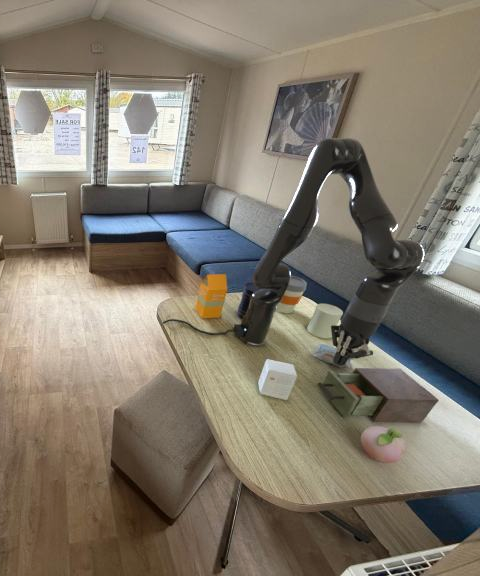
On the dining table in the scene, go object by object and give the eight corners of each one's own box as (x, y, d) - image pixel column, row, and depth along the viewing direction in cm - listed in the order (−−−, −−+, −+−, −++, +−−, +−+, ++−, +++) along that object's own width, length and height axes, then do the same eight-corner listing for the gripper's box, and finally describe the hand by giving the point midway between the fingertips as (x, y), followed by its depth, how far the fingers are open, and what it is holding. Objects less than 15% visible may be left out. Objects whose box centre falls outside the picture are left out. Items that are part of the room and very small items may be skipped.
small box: (283, 388, 102) (294, 364, 97) (287, 401, 98) (298, 376, 93) (257, 382, 104) (266, 358, 100) (259, 394, 100) (268, 369, 95)
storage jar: (234, 309, 146) (241, 281, 139) (255, 311, 145) (264, 283, 138) (239, 321, 137) (248, 292, 130) (262, 323, 136) (272, 294, 129)
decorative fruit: (362, 435, 87) (378, 411, 82) (398, 459, 81) (418, 434, 76) (347, 452, 83) (363, 427, 78) (385, 478, 77) (405, 453, 72)
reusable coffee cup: (295, 305, 151) (305, 277, 144) (298, 317, 141) (309, 289, 134) (266, 299, 156) (275, 272, 148) (267, 311, 145) (277, 283, 138)
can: (336, 333, 131) (347, 310, 125) (326, 341, 126) (338, 316, 120) (312, 323, 137) (322, 300, 132) (302, 329, 133) (312, 306, 127)
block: (344, 405, 94) (350, 395, 92) (334, 394, 98) (340, 384, 96) (358, 406, 94) (365, 395, 92) (348, 394, 98) (354, 384, 96)
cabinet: (373, 422, 91) (388, 399, 87) (343, 389, 103) (355, 367, 98) (421, 422, 92) (439, 400, 87) (386, 390, 103) (400, 368, 98)
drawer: (329, 417, 91) (340, 398, 88) (306, 388, 101) (314, 370, 98) (389, 418, 92) (402, 400, 88) (360, 389, 102) (370, 371, 98)
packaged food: (349, 375, 109) (354, 364, 106) (310, 359, 115) (315, 349, 113) (351, 363, 115) (356, 352, 112) (314, 349, 121) (318, 339, 119)
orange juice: (195, 309, 145) (203, 270, 136) (212, 308, 146) (222, 270, 137) (201, 318, 138) (210, 278, 129) (220, 317, 139) (230, 278, 130)
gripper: (332, 300, 87) (310, 348, 95) (370, 327, 75) (341, 380, 83) (358, 300, 87) (334, 348, 95) (400, 328, 75) (368, 380, 83)
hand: (338, 363), depth 89 cm, fingers closed
